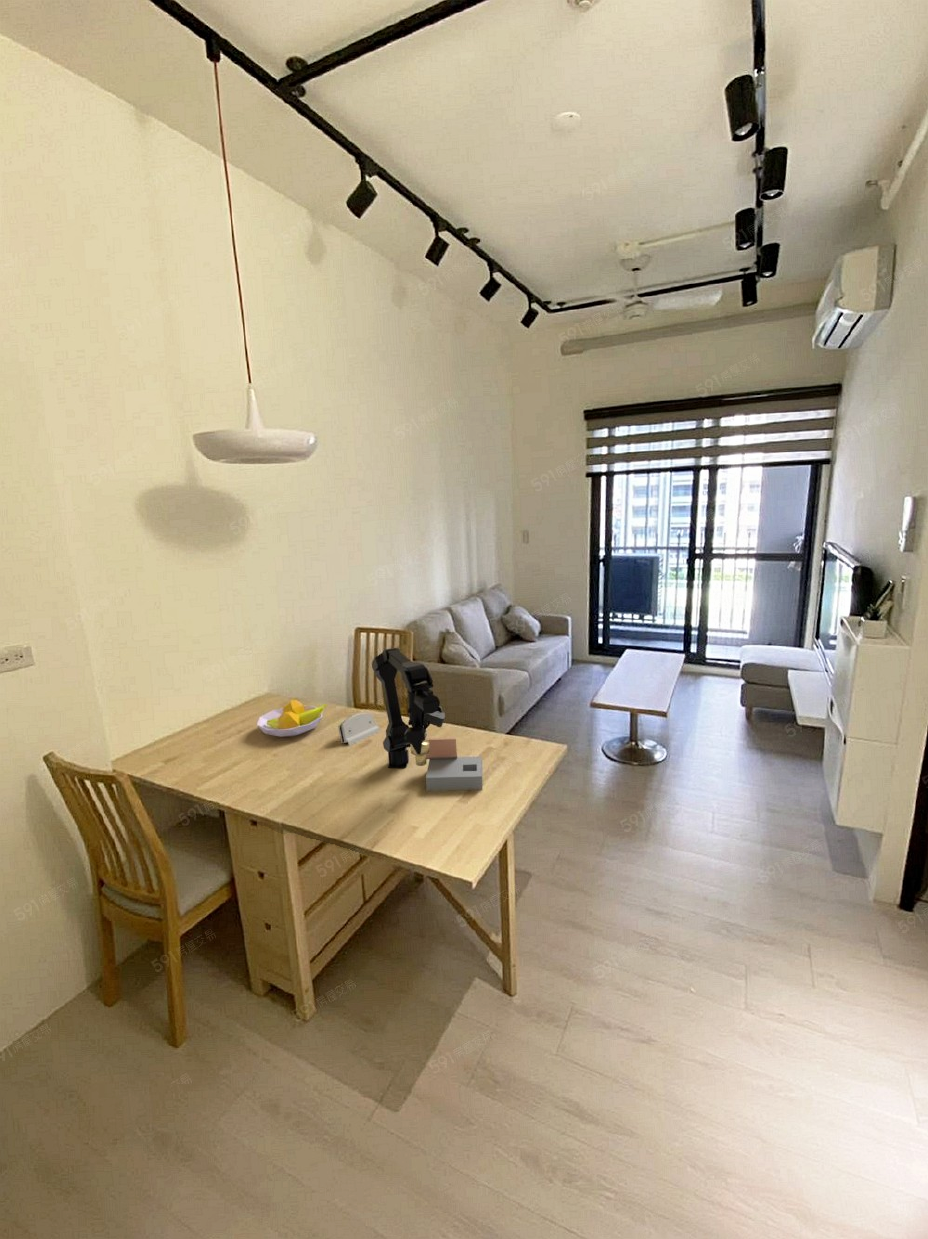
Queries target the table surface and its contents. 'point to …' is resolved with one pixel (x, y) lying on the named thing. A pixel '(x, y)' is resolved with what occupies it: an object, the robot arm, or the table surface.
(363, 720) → the hinge
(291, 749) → the table surface
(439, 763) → the hitch block
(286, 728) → the fruit bowl
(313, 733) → the table surface
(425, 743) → the tan shiny rounded piece
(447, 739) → the latch flap
